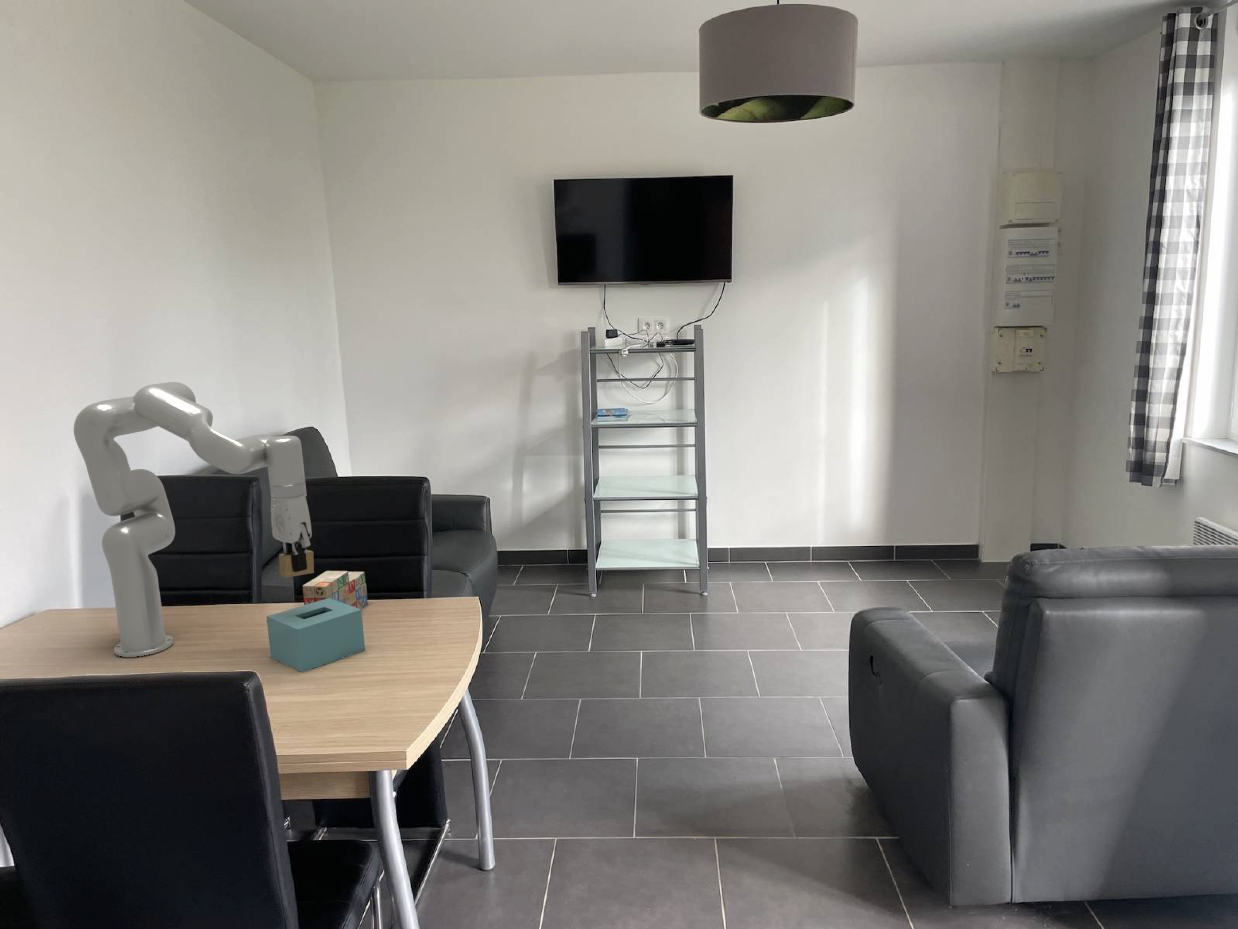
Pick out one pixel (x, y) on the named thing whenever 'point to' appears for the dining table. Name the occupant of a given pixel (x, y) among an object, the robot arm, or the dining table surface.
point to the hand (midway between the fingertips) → (297, 569)
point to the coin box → (315, 634)
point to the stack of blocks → (337, 588)
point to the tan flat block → (287, 565)
